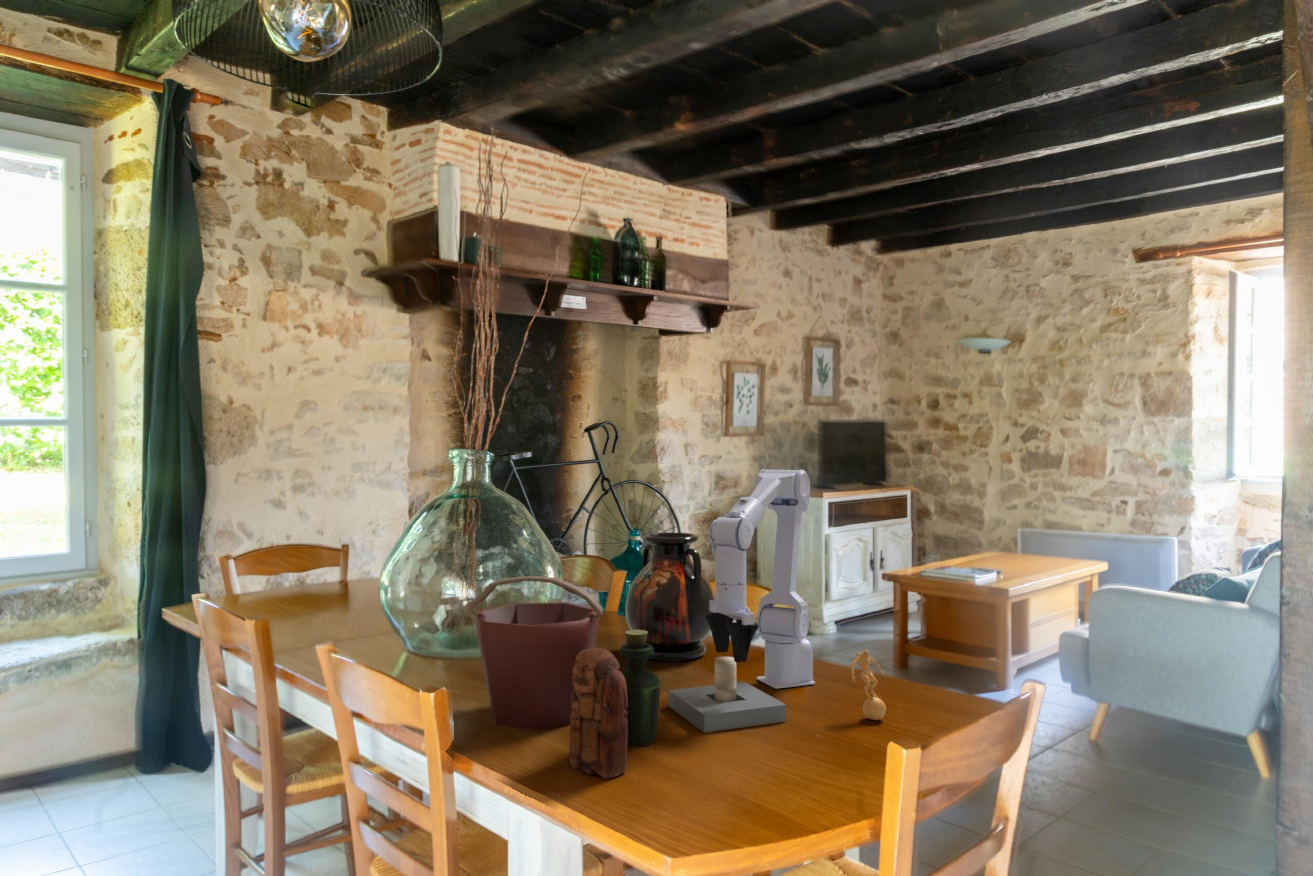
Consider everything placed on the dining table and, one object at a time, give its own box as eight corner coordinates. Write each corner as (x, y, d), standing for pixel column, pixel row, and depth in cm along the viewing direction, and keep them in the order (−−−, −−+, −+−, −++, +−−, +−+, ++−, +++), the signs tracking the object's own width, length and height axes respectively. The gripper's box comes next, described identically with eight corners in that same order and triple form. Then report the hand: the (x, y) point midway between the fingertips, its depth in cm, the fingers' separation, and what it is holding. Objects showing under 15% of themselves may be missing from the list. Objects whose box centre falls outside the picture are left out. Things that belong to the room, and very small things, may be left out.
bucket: (445, 724, 153) (445, 582, 153) (511, 690, 173) (511, 566, 173) (569, 741, 144) (569, 591, 144) (622, 704, 164) (622, 572, 164)
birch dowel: (730, 709, 161) (730, 655, 161) (740, 715, 157) (740, 660, 157) (710, 712, 159) (710, 657, 159) (720, 718, 156) (720, 662, 156)
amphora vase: (606, 653, 204) (606, 534, 204) (672, 639, 218) (672, 528, 218) (668, 671, 188) (668, 542, 188) (736, 655, 202) (735, 535, 203)
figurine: (867, 727, 151) (867, 658, 151) (841, 718, 156) (841, 651, 156) (898, 718, 156) (898, 651, 156) (872, 709, 161) (872, 645, 161)
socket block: (744, 697, 169) (744, 681, 169) (786, 721, 154) (786, 704, 154) (668, 706, 163) (668, 690, 163) (704, 732, 148) (704, 715, 148)
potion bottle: (665, 733, 148) (665, 628, 148) (655, 750, 140) (655, 638, 140) (619, 730, 149) (619, 626, 149) (606, 746, 141) (606, 636, 141)
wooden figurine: (555, 762, 134) (555, 646, 134) (586, 752, 139) (586, 640, 139) (606, 783, 126) (606, 660, 126) (637, 771, 130) (637, 652, 131)
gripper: (694, 578, 164) (694, 649, 164) (728, 590, 151) (728, 668, 151) (728, 575, 167) (728, 646, 167) (764, 587, 153) (764, 664, 153)
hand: (730, 656), depth 159 cm, fingers open, 7 cm apart
